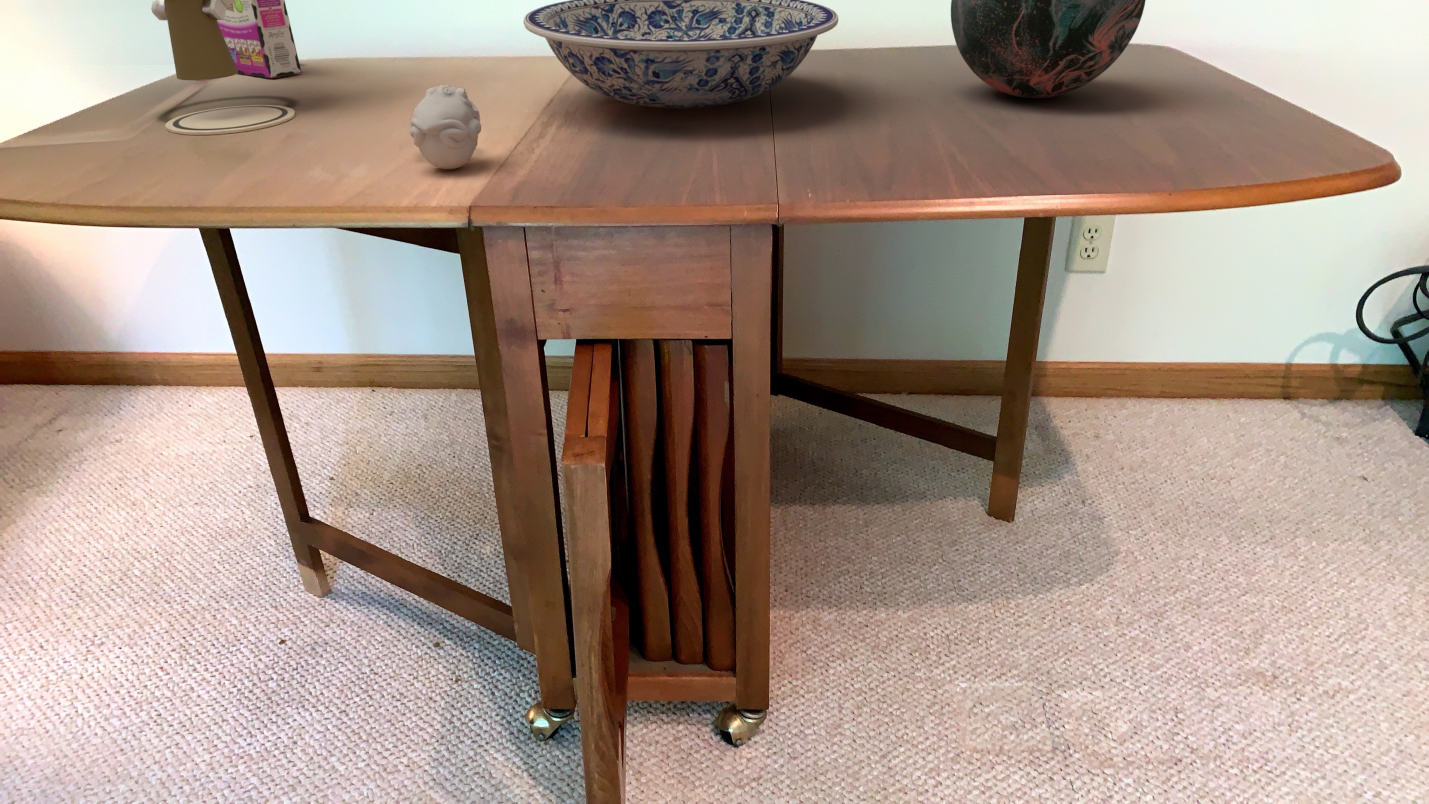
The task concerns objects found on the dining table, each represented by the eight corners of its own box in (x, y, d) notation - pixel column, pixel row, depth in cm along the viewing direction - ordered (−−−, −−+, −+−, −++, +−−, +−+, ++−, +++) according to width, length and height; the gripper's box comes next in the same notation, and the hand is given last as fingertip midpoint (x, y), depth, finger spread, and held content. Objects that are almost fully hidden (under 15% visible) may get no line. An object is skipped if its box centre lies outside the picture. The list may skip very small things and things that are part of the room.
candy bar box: (305, 73, 122) (273, -61, 114) (271, 79, 119) (236, -58, 111) (259, 66, 128) (225, -62, 120) (225, 72, 124) (188, -60, 116)
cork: (189, 82, 93) (154, -34, 88) (168, 76, 97) (133, -36, 91) (247, 74, 97) (217, -38, 92) (224, 68, 101) (194, -40, 95)
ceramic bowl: (584, 156, 83) (574, 42, 78) (503, 90, 110) (492, 2, 105) (894, 116, 95) (902, 14, 90) (752, 65, 122) (752, -15, 117)
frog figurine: (500, 158, 83) (489, 80, 79) (465, 180, 77) (452, 96, 74) (440, 155, 84) (427, 78, 81) (402, 176, 78) (386, 94, 75)
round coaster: (148, 138, 92) (147, 135, 92) (186, 111, 103) (185, 108, 103) (281, 130, 94) (281, 127, 94) (305, 104, 105) (304, 101, 105)
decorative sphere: (923, 81, 110) (940, -104, 100) (1082, 77, 111) (1115, -108, 101) (969, 118, 93) (996, -100, 83) (1157, 113, 94) (1207, -105, 84)
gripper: (96, -115, 94) (70, -4, 91) (284, -118, 94) (265, -6, 90) (136, -69, 101) (112, 36, 97) (313, -72, 100) (296, 35, 96)
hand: (187, 16), depth 94 cm, fingers closed on cork, 4 cm apart
